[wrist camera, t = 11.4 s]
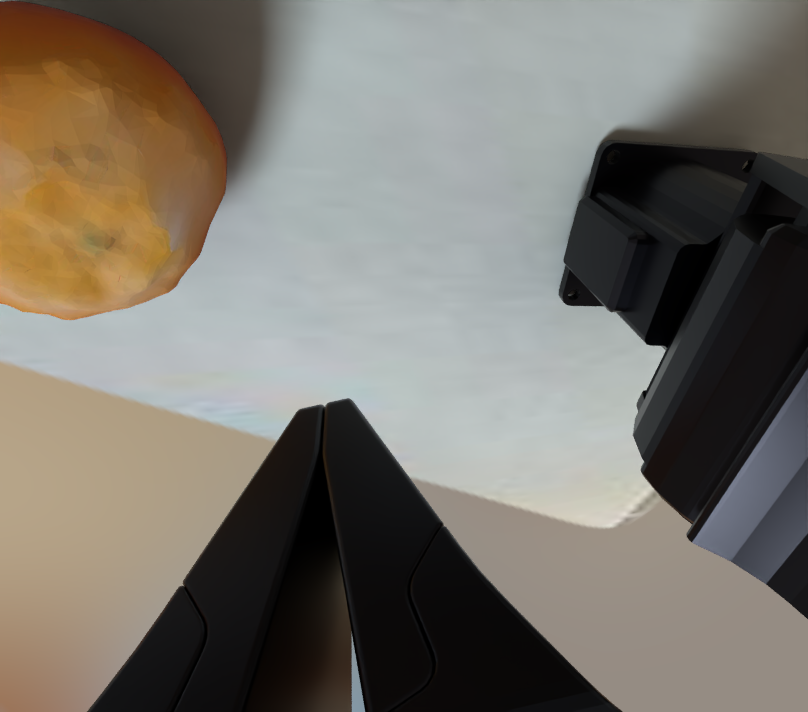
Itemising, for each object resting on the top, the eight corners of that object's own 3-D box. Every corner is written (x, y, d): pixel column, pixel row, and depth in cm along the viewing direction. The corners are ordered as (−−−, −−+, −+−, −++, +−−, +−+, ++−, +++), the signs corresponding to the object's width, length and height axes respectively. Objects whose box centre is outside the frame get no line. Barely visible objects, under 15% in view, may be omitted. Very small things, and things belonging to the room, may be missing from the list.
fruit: (-67, -163, 12) (-26, -11, 9) (215, 56, 19) (307, 196, 15) (-196, 113, 15) (-207, 323, 11) (93, 223, 22) (147, 378, 18)
